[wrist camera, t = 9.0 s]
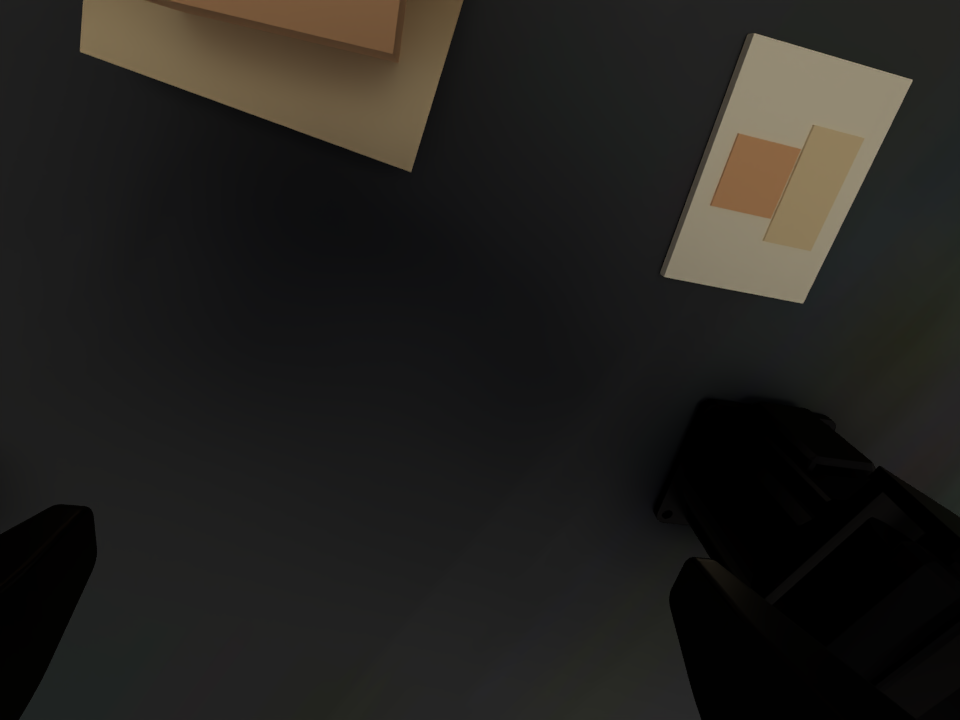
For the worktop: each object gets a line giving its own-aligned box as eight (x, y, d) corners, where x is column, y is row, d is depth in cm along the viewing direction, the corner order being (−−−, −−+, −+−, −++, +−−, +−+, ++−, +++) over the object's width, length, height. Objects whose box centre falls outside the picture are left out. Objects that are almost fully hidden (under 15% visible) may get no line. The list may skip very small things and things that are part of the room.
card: (796, 300, 22) (804, 304, 22) (659, 273, 21) (664, 277, 21) (903, 79, 19) (915, 79, 18) (747, 34, 18) (756, 32, 17)
